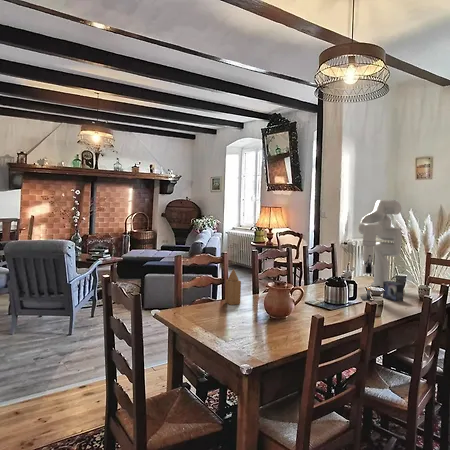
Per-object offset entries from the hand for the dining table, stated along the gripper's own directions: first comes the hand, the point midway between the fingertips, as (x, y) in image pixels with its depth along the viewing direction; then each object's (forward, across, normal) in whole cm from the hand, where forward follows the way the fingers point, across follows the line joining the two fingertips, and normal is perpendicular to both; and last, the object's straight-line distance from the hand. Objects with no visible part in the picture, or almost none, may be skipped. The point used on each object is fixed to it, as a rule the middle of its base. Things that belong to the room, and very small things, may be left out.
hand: (367, 272), depth 240 cm
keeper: (+16, +6, 0) cm, 17 cm away
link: (+1, 0, 0) cm, 1 cm away
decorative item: (+16, +42, -78) cm, 90 cm away
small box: (+16, +1, +15) cm, 22 cm away
